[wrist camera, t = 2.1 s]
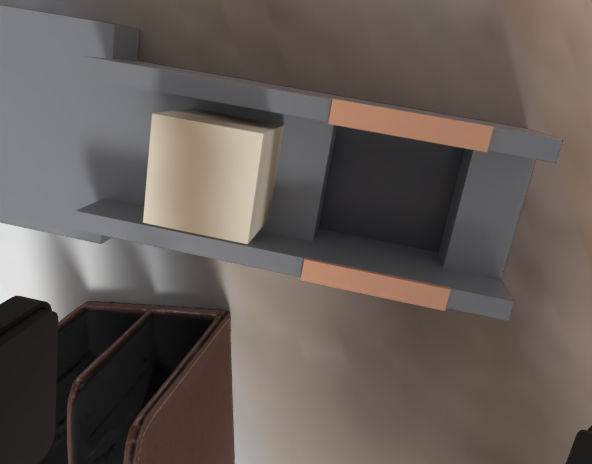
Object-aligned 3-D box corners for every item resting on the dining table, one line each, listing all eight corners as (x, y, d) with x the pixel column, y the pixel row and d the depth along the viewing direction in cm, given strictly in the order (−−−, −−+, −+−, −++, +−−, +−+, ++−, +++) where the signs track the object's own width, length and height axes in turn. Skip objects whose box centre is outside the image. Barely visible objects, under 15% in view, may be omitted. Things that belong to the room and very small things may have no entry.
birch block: (284, 125, 28) (263, 133, 23) (270, 218, 29) (247, 244, 25) (191, 108, 28) (152, 113, 24) (181, 200, 30) (142, 222, 25)
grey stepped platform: (537, 96, 28) (578, 99, 22) (478, 304, 32) (500, 355, 26) (-53, -3, 32) (-154, -23, 26) (-49, 194, 35) (-138, 216, 29)
